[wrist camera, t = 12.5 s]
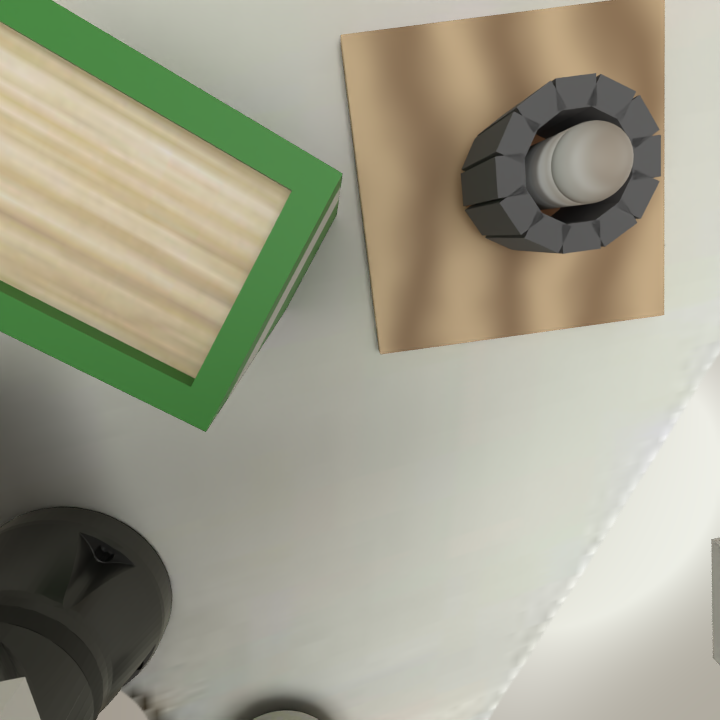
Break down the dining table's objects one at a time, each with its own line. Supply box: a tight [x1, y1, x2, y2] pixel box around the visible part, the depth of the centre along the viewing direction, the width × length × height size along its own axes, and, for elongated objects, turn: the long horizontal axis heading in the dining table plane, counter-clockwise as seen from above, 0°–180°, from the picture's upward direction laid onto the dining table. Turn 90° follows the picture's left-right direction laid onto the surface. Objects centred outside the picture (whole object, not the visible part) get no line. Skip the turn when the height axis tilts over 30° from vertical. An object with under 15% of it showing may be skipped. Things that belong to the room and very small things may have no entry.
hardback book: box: [0, 0, 342, 432], centre depth 24 cm, size 18×7×24 cm, turn 61°
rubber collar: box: [461, 73, 661, 254], centre depth 29 cm, size 8×8×7 cm
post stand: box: [341, 0, 665, 354], centre depth 29 cm, size 20×20×14 cm
